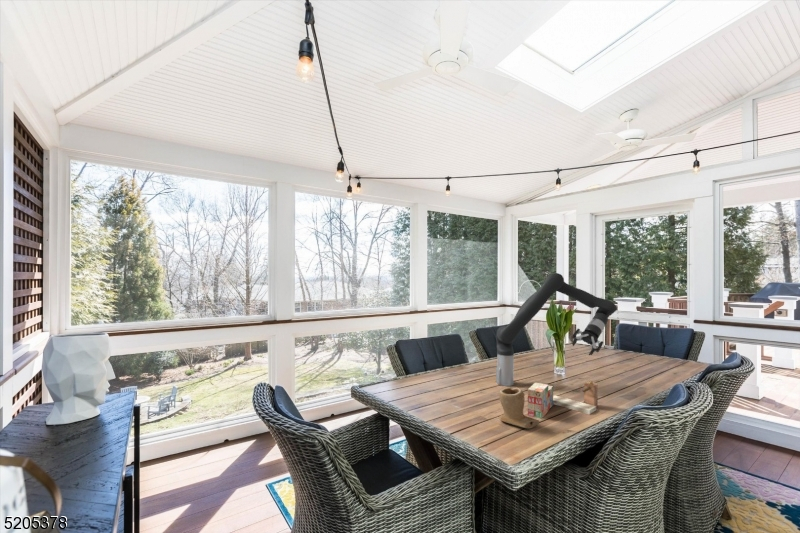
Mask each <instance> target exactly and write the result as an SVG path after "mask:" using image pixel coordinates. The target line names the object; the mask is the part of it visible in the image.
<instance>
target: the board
mask: <svg viewBox="0 0 800 533" xmlns="http://www.w3.org/2000/svg"><path fill="white" fill-rule="evenodd" d="M553 405H554V406H558V407H562V408H565V409H569V410H573V411H577V412H580V413H584V414H587V415H591V414H593V413H594V412H595V411H597V407H596V406H593V405H590V404H586V403H584V402H581V401H577V400H574V399H570V398H567V397H562V396H559V395H555V394H553Z"/></svg>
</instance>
